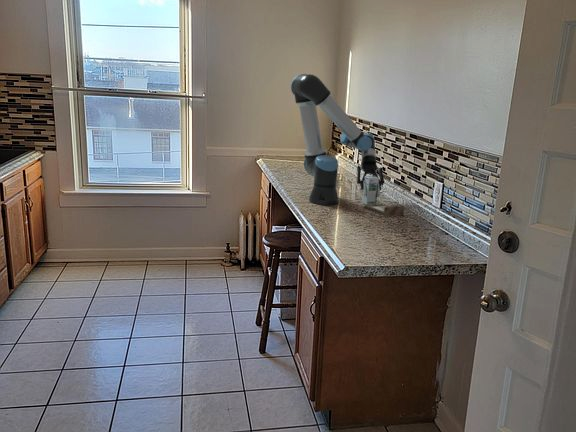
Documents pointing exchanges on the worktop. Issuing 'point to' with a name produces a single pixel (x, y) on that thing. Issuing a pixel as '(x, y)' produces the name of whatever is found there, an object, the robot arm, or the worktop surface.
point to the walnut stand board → (386, 209)
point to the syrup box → (371, 190)
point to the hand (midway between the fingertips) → (371, 194)
